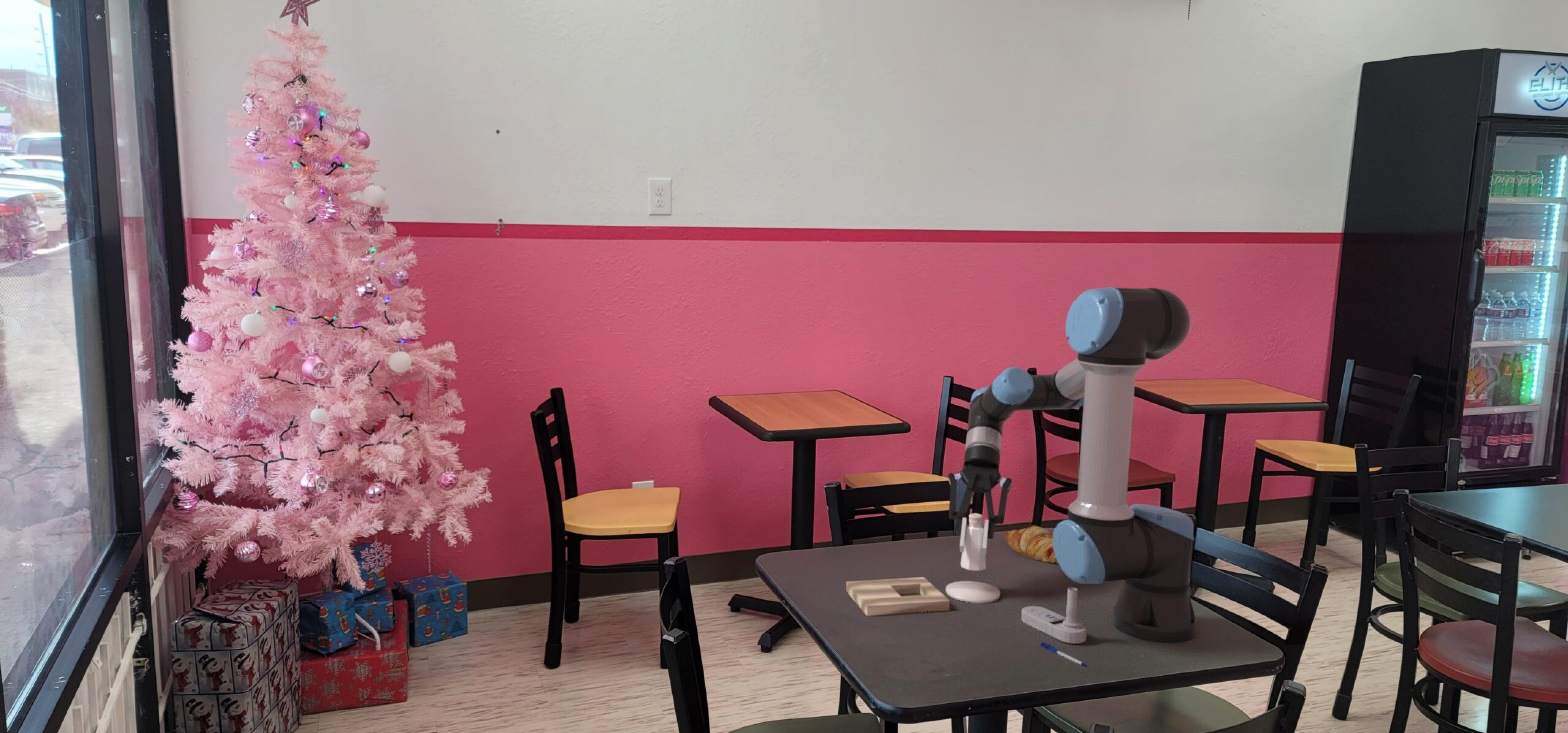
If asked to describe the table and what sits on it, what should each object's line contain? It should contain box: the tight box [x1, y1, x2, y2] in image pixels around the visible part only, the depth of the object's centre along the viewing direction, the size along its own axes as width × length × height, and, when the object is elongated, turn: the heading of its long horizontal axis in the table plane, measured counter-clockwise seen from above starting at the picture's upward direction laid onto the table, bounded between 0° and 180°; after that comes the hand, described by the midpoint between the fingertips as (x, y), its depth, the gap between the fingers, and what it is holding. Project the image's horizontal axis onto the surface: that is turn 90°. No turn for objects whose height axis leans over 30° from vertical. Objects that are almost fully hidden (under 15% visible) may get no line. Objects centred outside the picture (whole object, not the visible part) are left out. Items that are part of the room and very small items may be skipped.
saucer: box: [945, 580, 1001, 604], centre depth 211 cm, size 11×11×1 cm
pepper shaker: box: [960, 512, 987, 572], centre depth 210 cm, size 5×5×11 cm
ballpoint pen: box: [1040, 642, 1087, 667], centre depth 181 cm, size 10×1×1 cm, turn 33°
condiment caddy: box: [845, 576, 951, 617], centre depth 206 cm, size 14×17×2 cm
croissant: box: [1004, 524, 1059, 565], centre depth 238 cm, size 21×10×8 cm, turn 31°
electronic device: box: [1021, 586, 1088, 645], centre depth 192 cm, size 5×10×15 cm
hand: (973, 550), depth 207 cm, fingers closed on pepper shaker, 4 cm apart
